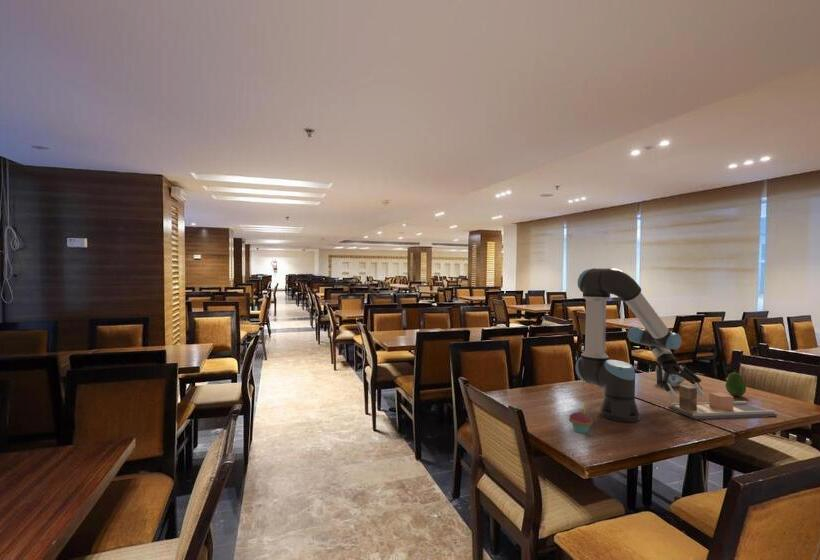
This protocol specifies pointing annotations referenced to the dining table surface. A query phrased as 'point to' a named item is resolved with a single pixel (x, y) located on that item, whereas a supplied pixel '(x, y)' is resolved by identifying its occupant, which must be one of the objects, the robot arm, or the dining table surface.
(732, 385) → the green bumpy rounded piece
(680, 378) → the chinaware
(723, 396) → the block
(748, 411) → the board
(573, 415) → the cupcake
